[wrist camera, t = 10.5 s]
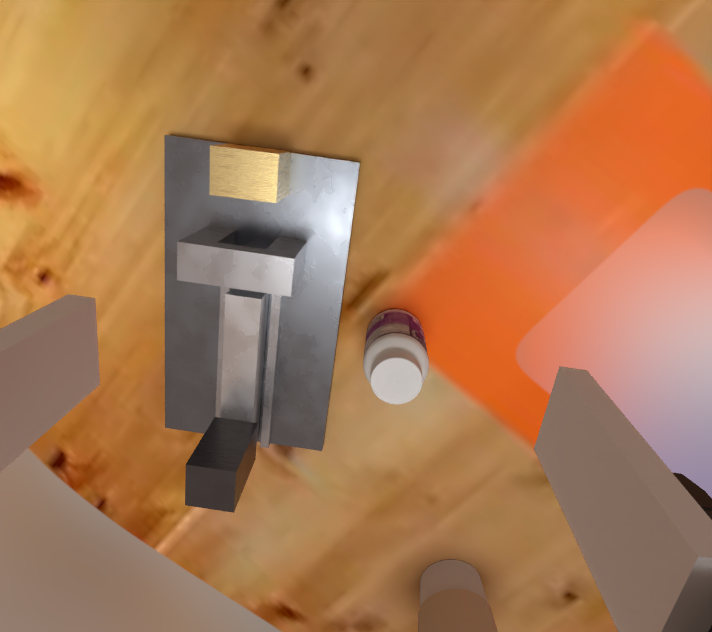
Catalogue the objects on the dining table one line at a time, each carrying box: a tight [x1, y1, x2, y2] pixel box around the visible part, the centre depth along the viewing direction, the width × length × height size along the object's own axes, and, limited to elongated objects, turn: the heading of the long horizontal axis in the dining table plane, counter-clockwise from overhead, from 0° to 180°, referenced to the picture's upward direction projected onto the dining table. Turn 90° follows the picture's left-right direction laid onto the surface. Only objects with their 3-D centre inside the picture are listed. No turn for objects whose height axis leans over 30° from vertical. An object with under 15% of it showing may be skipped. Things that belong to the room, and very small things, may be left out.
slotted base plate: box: [165, 135, 360, 451], centre depth 43 cm, size 28×16×8 cm, turn 172°
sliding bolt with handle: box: [185, 288, 269, 512], centre depth 42 cm, size 16×4×10 cm, turn 172°
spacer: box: [209, 144, 292, 203], centre depth 39 cm, size 5×5×4 cm
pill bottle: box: [363, 309, 429, 404], centre depth 42 cm, size 5×5×10 cm
